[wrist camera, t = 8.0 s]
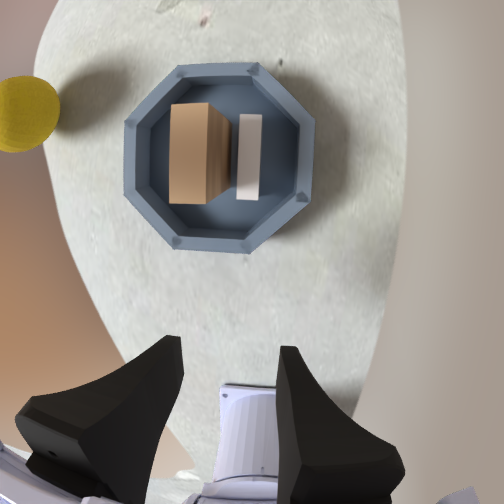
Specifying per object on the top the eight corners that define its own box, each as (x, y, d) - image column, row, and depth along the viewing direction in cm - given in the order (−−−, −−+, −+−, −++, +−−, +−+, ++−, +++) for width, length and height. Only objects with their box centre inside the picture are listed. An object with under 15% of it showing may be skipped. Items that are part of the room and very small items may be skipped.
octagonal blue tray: (301, 243, 20) (306, 258, 17) (144, 234, 20) (125, 246, 17) (311, 79, 16) (317, 66, 14) (147, 81, 17) (128, 71, 14)
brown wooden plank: (230, 187, 18) (205, 204, 12) (206, 187, 18) (169, 203, 12) (232, 123, 17) (208, 102, 10) (208, 123, 17) (171, 104, 10)
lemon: (24, 135, 18) (-45, 139, 11) (49, 76, 17) (-19, 62, 9) (61, 161, 19) (-14, 170, 11) (90, 95, 17) (17, 79, 10)
